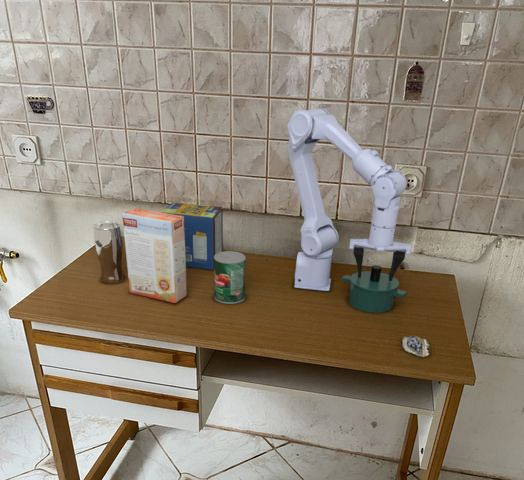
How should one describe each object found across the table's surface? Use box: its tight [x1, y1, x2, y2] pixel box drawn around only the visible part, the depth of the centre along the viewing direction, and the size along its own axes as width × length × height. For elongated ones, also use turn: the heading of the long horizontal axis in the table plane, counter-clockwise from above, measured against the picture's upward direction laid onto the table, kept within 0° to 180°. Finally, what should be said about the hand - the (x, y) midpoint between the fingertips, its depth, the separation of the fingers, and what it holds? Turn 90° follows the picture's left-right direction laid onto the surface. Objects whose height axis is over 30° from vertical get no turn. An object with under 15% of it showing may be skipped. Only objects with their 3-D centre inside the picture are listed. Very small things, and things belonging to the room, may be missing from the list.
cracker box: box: [121, 207, 188, 304], centre depth 128 cm, size 14×6×21 cm, turn 65°
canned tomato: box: [213, 250, 247, 305], centre depth 131 cm, size 8×8×11 cm
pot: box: [341, 274, 408, 314], centre depth 132 cm, size 11×17×6 cm
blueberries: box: [401, 335, 430, 358], centre depth 114 cm, size 7×8×2 cm
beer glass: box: [93, 220, 125, 285], centre depth 136 cm, size 7×7×15 cm
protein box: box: [160, 202, 224, 271], centre depth 150 cm, size 10×15×16 cm
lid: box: [350, 264, 400, 292], centre depth 130 cm, size 12×12×5 cm
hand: (374, 277), depth 130 cm, fingers open, 7 cm apart
